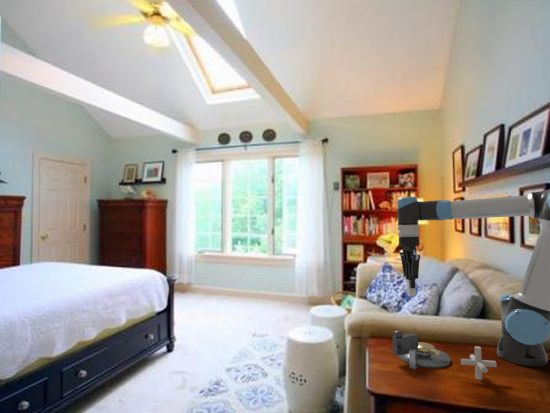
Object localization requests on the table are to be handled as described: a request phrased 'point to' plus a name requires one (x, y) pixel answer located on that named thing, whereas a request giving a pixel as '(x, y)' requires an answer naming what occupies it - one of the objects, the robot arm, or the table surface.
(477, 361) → the pipe connector
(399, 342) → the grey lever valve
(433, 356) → the post plate
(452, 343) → the table surface
